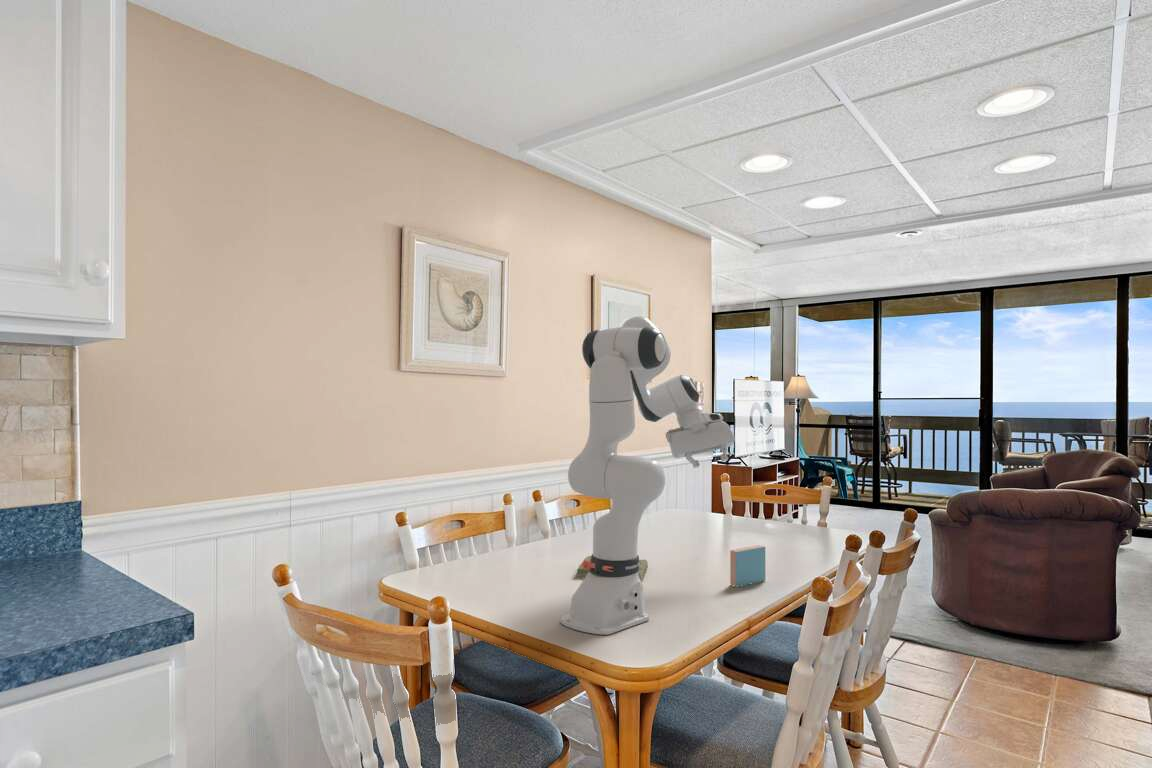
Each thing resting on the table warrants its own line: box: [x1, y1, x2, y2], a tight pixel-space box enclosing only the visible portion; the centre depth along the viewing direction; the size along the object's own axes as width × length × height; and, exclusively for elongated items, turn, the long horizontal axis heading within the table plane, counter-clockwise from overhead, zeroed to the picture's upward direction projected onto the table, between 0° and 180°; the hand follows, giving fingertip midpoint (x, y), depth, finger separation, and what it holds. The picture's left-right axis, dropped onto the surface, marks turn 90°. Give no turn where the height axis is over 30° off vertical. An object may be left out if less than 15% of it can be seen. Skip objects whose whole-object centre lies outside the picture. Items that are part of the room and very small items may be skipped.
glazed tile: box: [729, 544, 766, 587], centre depth 183 cm, size 12×2×10 cm, turn 123°
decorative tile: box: [576, 555, 649, 583], centre depth 193 cm, size 19×20×4 cm
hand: (711, 463), depth 191 cm, fingers open, 8 cm apart
